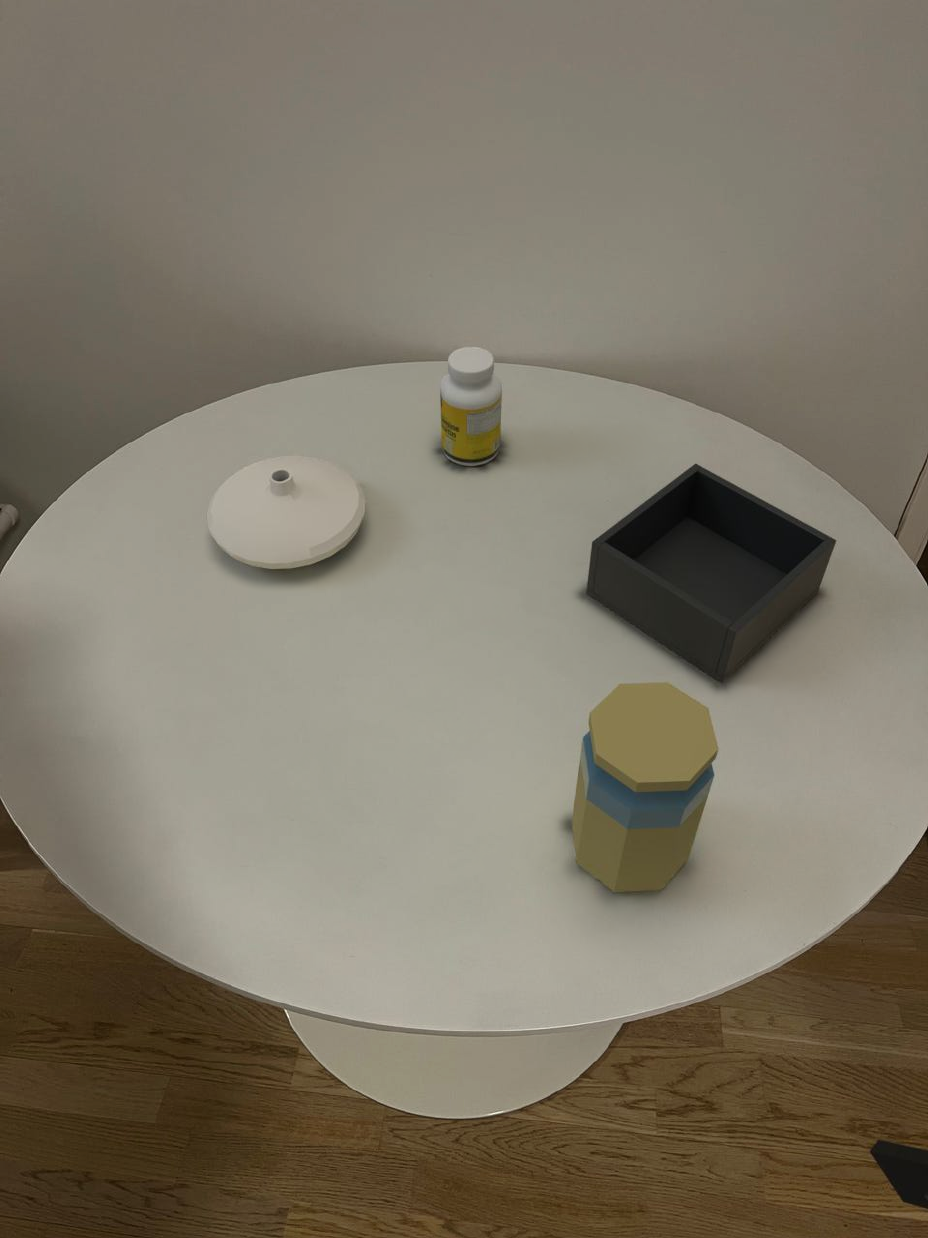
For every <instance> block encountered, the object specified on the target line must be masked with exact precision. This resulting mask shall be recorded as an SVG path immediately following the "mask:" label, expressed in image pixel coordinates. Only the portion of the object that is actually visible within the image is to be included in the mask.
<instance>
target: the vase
mask: <svg viewBox="0 0 928 1238" xmlns="http://www.w3.org/2000/svg"><path fill="white" fill-rule="evenodd" d="M365 513H366V497H365V493H364V490H363V488H362V485H361V484H360V483H359V482H358V481H357V479H356V478H355V477H354V476H353V475H352V474H351V473H349V472H348V471H346V470H345V469H343V468H341V467H340V466H338V465H337V464H335V463H333V462H330V461H327V460H324V459H322V458H319V457H312V456H305V455H282V456H281V455H280V456H276V457H270V458H266V459H263V460H260V461H257V462H254V463H251V464H249V465H247V466H245V467H243V468H241V469H240V470H238V471H236V472H235V473H233V474H232V475H231V476H229V477H228V478H227V479H226V480H225V481H223V483H221V485H220V486H219V487H218V488H217V489H216V491H215V493H214V494H213V496H212V497H211V499H210V501H209V503H208V506H207V513H206V515H205V516H206V517H205V519H206V523H207V528H208V531H209V533H210V534H211V536H212V537H213V539H214V540H215V542H216V543H217V545H218V546H219V547H220V548H221V549H222V550H223V551H224V552H225V553H226V554H228V555H229V556H230V557H232V558H233V559H234V560H237V561H239V562H241V563H244V564H247V565H249V566H251V567H257V568H264V569H269V570H279V569H280V570H281V569H283V570H284V569H294V568H295V569H296V568H300V567H305V566H309V565H313V564H315V563H318V562H320V561H323V560H326V559H327V558H330V557H332V556H333V555H335V554H336V553H338V552H339V551H340V550H342V549H343V548H345V547H346V546H347V545H348V544H349V543H350V541H352V539H353V538H354V537H355V536H356V535H357V533H358V531H359V529H360V527H361V525H362V522H363V519H364V516H365Z"/></svg>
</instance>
